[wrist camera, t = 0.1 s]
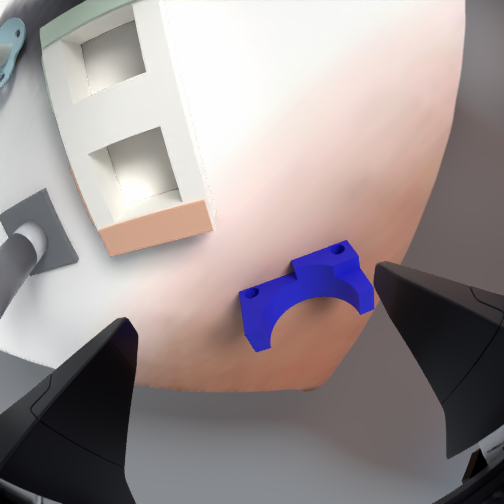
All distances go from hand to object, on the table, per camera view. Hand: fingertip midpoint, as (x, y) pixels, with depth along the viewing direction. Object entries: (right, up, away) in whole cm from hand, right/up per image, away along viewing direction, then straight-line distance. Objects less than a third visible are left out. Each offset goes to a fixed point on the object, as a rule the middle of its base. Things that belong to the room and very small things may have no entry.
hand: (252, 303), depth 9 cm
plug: (-22, +3, +12) cm, 25 cm away
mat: (-22, +3, +12) cm, 25 cm away
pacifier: (-23, +20, +2) cm, 30 cm away
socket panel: (-9, +12, +8) cm, 17 cm away
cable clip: (+5, -1, +19) cm, 20 cm away
